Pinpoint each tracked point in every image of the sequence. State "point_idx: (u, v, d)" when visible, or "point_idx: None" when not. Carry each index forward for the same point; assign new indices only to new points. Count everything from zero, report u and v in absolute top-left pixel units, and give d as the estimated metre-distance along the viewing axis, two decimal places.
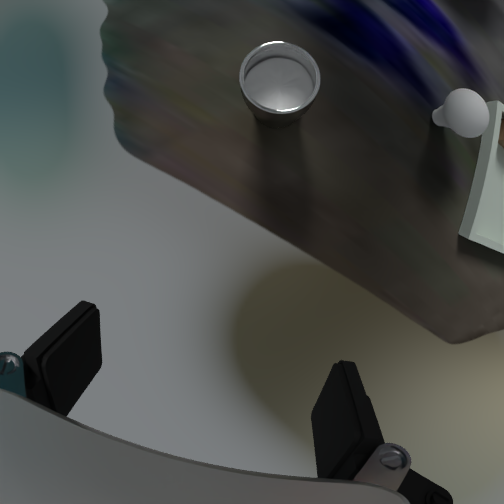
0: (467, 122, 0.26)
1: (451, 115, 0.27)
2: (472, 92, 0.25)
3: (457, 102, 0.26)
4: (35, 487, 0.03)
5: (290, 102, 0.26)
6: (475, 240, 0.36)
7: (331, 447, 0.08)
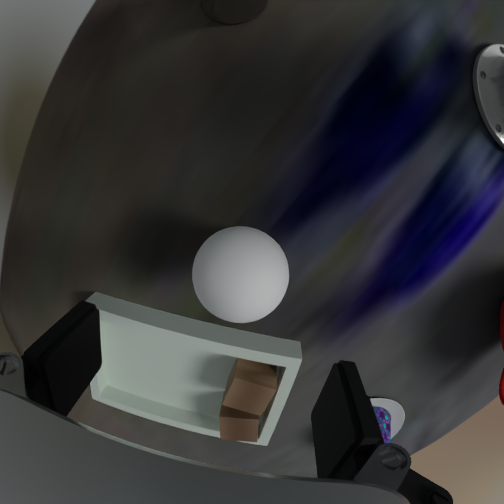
0: (207, 263, 0.17)
1: (221, 233, 0.18)
2: (277, 282, 0.18)
3: (246, 242, 0.17)
4: (35, 487, 0.03)
5: None
6: None
7: (331, 447, 0.08)
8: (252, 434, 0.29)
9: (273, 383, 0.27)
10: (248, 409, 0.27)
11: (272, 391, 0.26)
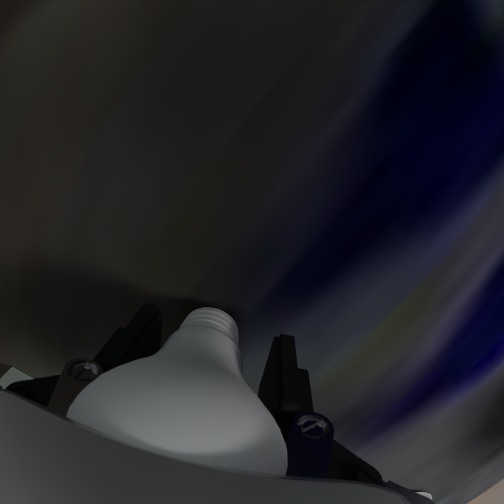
0: None
1: (97, 405, 0.05)
2: None
3: None
4: (35, 487, 0.03)
5: None
6: None
7: None
8: None
9: None
10: None
11: None
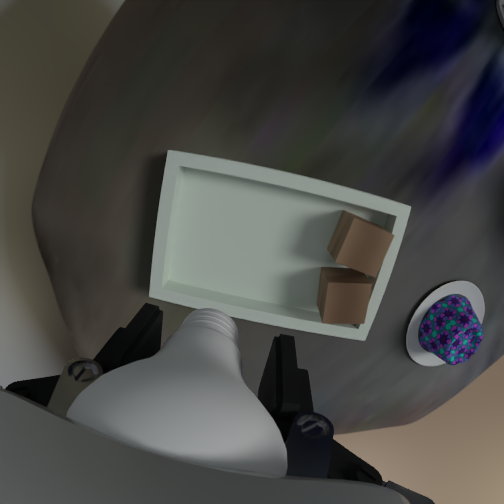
0: None
1: (96, 407, 0.05)
2: None
3: None
4: (35, 487, 0.03)
5: None
6: (167, 167, 0.25)
7: None
8: (360, 310, 0.26)
9: (388, 231, 0.25)
10: (362, 266, 0.25)
11: (390, 237, 0.24)
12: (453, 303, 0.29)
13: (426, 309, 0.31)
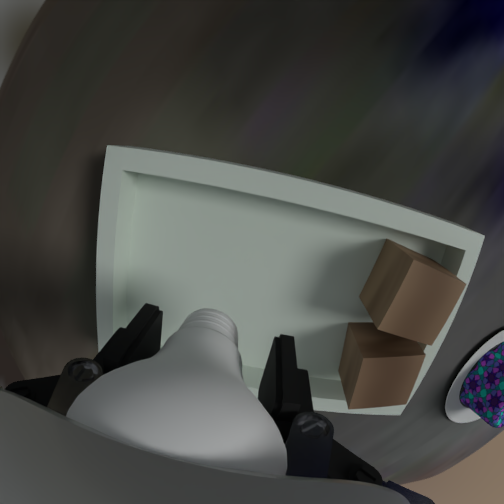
0: None
1: (96, 407, 0.05)
2: None
3: None
4: (35, 487, 0.03)
5: None
6: (106, 173, 0.15)
7: None
8: (404, 389, 0.16)
9: (456, 277, 0.14)
10: (417, 332, 0.15)
11: (460, 287, 0.14)
12: None
13: (476, 361, 0.21)
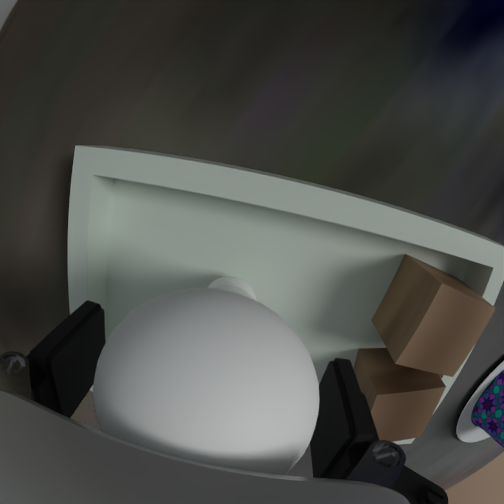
0: (109, 397, 0.05)
1: (147, 314, 0.07)
2: (297, 441, 0.06)
3: (210, 351, 0.06)
4: (35, 487, 0.03)
5: None
6: (74, 178, 0.12)
7: (326, 444, 0.08)
8: (419, 423, 0.13)
9: (483, 299, 0.12)
10: (439, 364, 0.12)
11: (489, 311, 0.11)
12: None
13: (492, 379, 0.18)
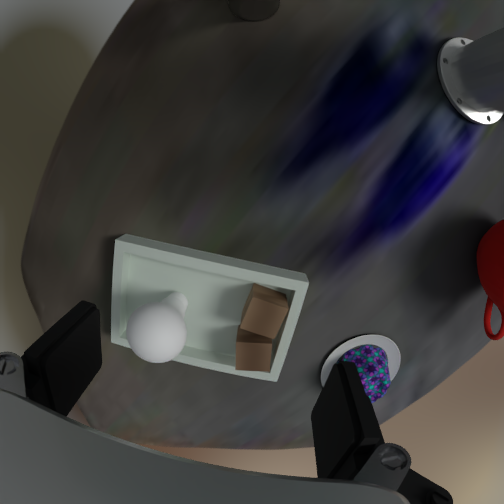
0: (129, 329, 0.27)
1: (138, 310, 0.28)
2: (171, 341, 0.27)
3: (149, 317, 0.27)
4: (35, 487, 0.03)
5: None
6: (115, 252, 0.33)
7: (331, 447, 0.08)
8: (265, 362, 0.34)
9: (285, 304, 0.33)
10: (263, 331, 0.33)
11: (284, 310, 0.32)
12: (365, 353, 0.38)
13: (341, 354, 0.39)
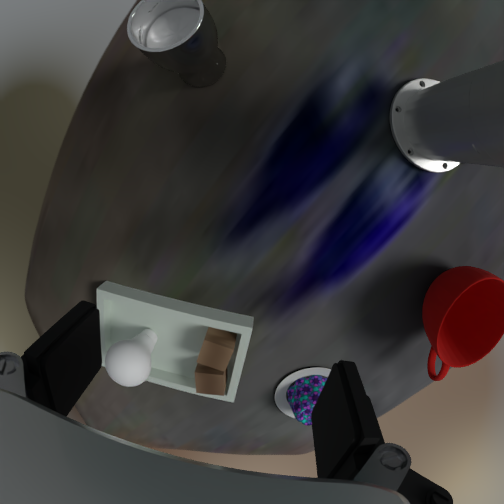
0: (106, 361, 0.33)
1: (112, 346, 0.34)
2: (136, 370, 0.33)
3: (119, 353, 0.33)
4: (35, 487, 0.03)
5: (160, 46, 0.23)
6: (97, 298, 0.39)
7: (331, 447, 0.08)
8: (219, 388, 0.40)
9: (232, 345, 0.39)
10: (214, 365, 0.39)
11: (230, 350, 0.38)
12: (313, 382, 0.43)
13: (292, 381, 0.45)
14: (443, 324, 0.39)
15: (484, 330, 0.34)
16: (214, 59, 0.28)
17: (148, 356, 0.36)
